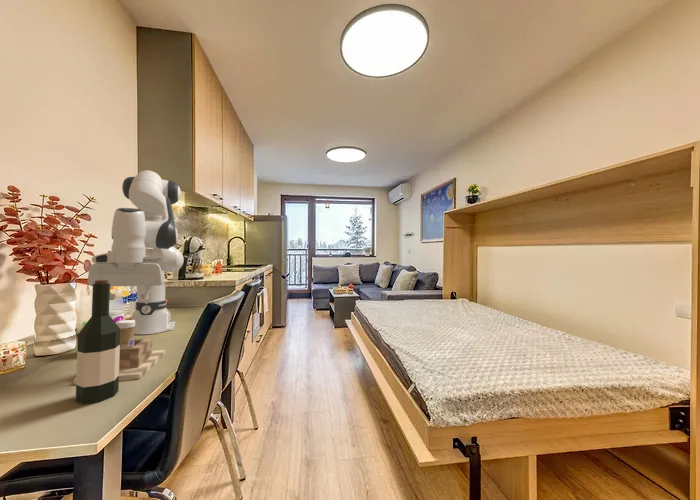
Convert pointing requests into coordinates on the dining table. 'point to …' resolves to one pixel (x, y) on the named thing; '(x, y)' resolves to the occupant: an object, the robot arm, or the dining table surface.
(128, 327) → the sprinkles bottle
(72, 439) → the dining table surface
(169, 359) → the dining table surface
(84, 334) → the wine bottle
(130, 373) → the holder board
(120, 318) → the supplement can
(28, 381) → the dining table surface
